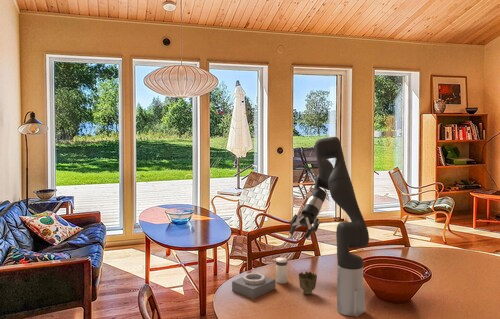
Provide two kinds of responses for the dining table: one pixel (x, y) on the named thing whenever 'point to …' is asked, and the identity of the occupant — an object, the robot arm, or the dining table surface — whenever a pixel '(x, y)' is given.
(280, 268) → the domed cylinder with band
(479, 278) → the dining table surface
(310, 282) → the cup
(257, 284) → the square base with ring
